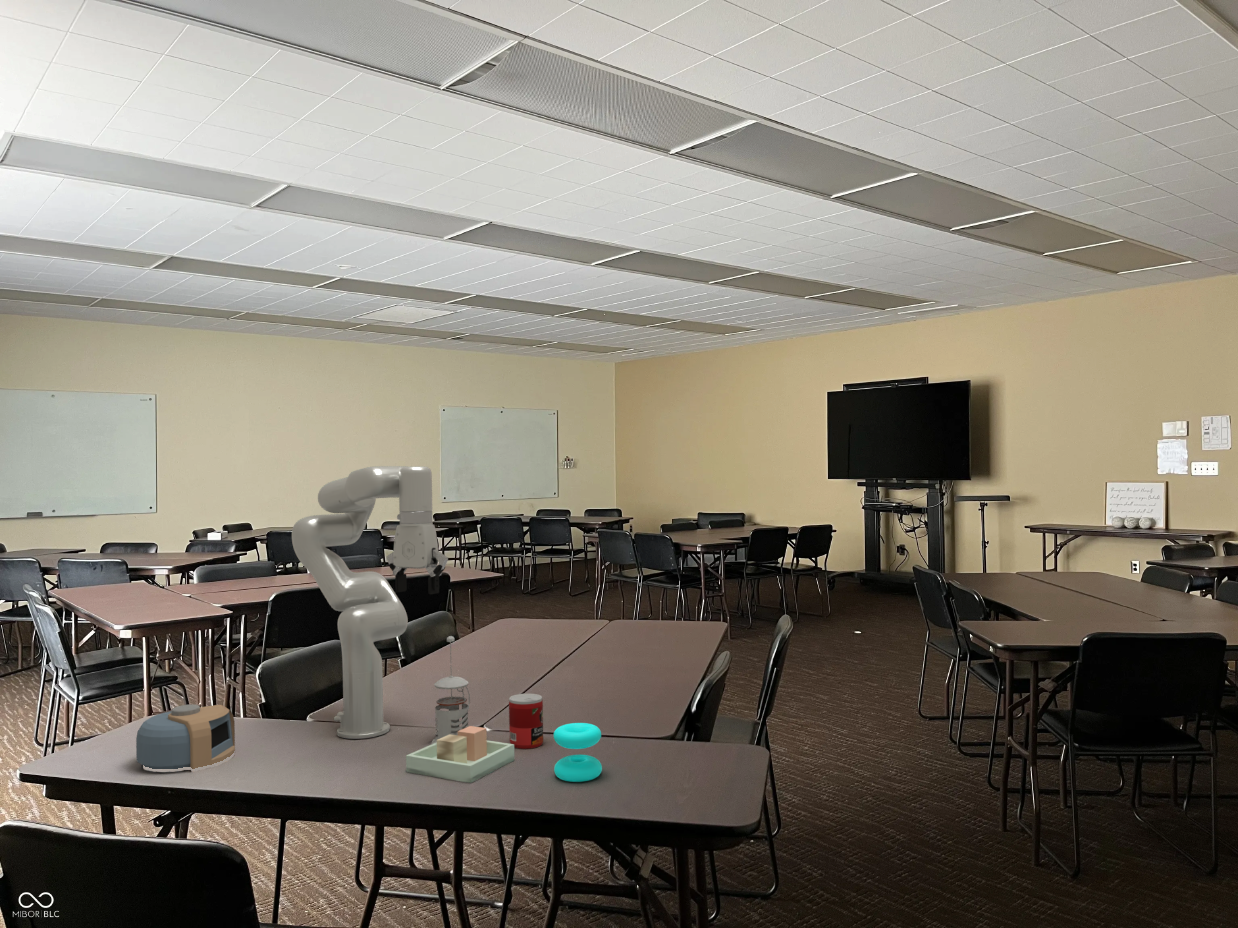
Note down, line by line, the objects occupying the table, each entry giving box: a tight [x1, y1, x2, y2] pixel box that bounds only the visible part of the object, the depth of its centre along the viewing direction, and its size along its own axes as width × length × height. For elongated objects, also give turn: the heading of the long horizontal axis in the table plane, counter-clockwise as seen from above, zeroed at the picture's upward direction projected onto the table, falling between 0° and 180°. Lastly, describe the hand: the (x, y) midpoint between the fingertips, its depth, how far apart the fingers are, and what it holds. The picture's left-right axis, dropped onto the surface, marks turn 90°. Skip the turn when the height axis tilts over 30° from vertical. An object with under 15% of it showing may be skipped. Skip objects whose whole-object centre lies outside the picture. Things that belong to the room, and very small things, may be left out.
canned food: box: [508, 693, 544, 750], centre depth 207 cm, size 8×8×11 cm
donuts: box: [553, 722, 603, 783], centre depth 185 cm, size 10×10×10 cm
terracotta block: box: [458, 725, 488, 761], centre depth 195 cm, size 4×4×6 cm
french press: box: [431, 635, 471, 745], centre depth 212 cm, size 10×12×25 cm
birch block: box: [437, 734, 467, 763], centre depth 189 cm, size 4×4×6 cm
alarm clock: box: [135, 704, 236, 769], centre depth 200 cm, size 19×20×12 cm
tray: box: [405, 739, 515, 784], centre depth 192 cm, size 17×16×4 cm
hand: (417, 592), depth 206 cm, fingers open, 9 cm apart
